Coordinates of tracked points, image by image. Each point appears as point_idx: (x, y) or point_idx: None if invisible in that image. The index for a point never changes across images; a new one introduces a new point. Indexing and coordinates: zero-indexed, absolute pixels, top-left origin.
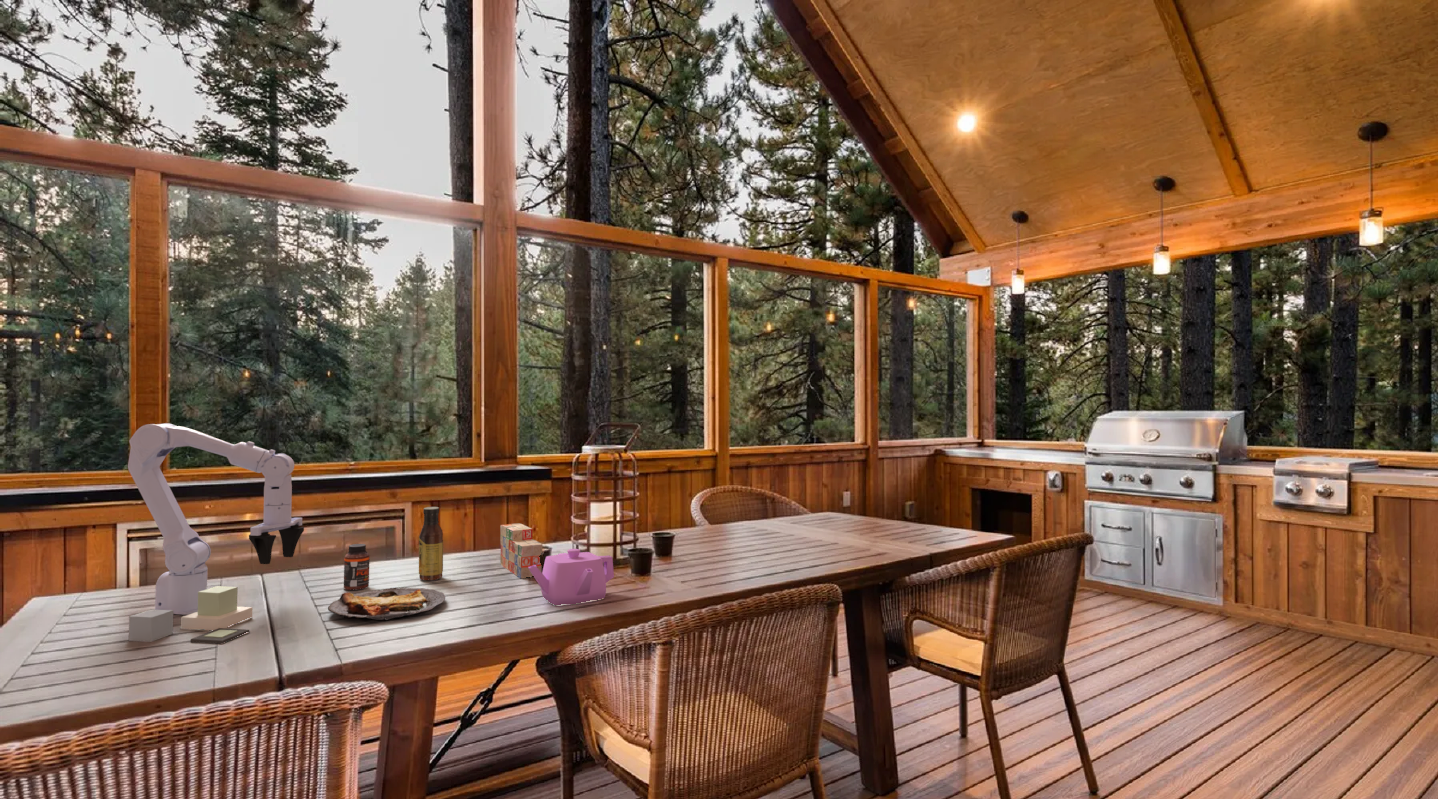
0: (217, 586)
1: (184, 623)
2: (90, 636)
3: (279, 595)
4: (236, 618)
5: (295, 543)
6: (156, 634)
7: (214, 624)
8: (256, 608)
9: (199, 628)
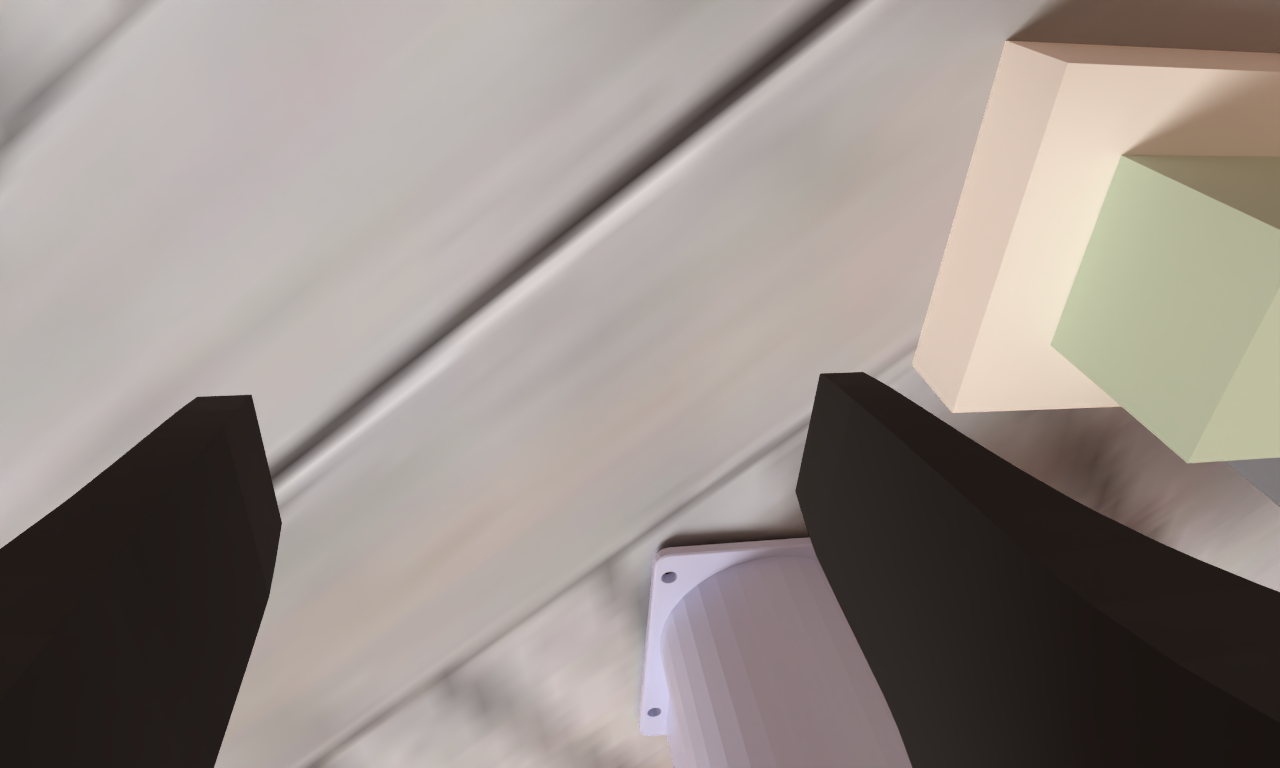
0: (1208, 447)
1: None
2: None
3: (259, 350)
4: (1208, 58)
5: (51, 566)
6: None
7: None
8: (696, 236)
9: None
